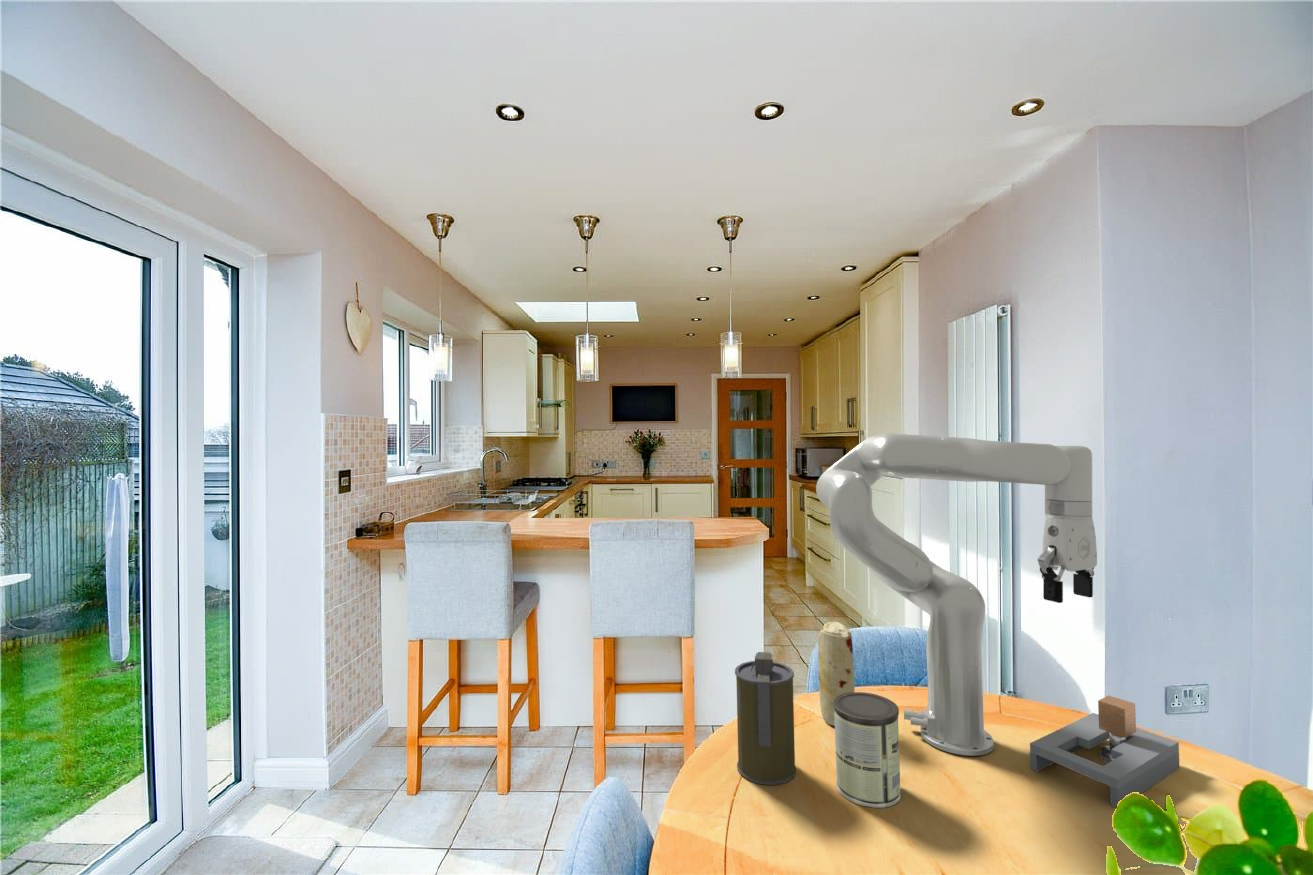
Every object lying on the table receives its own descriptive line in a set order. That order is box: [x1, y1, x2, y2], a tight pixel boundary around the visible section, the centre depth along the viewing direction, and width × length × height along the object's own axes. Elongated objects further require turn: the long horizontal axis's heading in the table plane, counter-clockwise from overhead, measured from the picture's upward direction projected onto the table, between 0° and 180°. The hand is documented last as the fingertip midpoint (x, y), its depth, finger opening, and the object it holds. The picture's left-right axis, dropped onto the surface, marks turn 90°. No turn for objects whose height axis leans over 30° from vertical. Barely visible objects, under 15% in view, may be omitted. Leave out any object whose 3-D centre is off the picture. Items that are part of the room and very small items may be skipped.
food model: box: [817, 621, 856, 727], centre depth 121 cm, size 10×7×20 cm
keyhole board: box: [1029, 712, 1180, 808], centre depth 101 cm, size 22×13×4 cm, turn 119°
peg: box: [1097, 695, 1137, 764], centre depth 103 cm, size 5×5×10 cm
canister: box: [734, 651, 797, 786], centre depth 103 cm, size 11×10×20 cm
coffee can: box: [833, 691, 902, 809], centre depth 97 cm, size 10×10×14 cm
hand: (1068, 598), depth 112 cm, fingers open, 9 cm apart
